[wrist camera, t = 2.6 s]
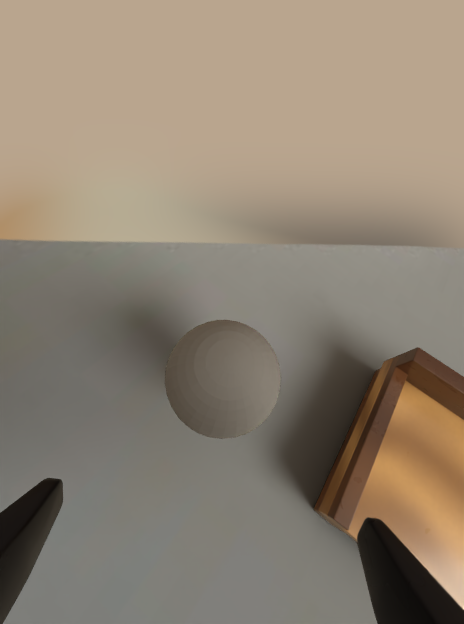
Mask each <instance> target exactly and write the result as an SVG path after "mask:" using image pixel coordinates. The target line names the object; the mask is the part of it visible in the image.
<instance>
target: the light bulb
mask: <svg viewBox="0 0 464 624" xmlns="http://www.w3.org/2000/svg"><path fill="white" fill-rule="evenodd" d="M280 384H281V374H280V368H279V363H278V360H277V357H276V354H275V352H274V351H273V349H272V347H271V345H270V344H269V343H268V341H267V340H266V339H265V338H264V337H263V336H262V335H261V334H260V333H258V332H257V331H256V330H255V329H253V328H251V327H249V326H247V325H245V324H242V323H240V322H236V321H230V320H216V321H211V322H207V323H204V324H202V325H199V326H197V327H195V328H194V329H192V330H191V331H189V332H188V333H186V334H185V335H184V336H183V337H182V338H181V339H180V340H179V342H178V343H177V345H176V346H175V347H174V349H173V350H172V353H171V355H170V357H169V359H168V362H167V367H166V371H165V386H166V392H167V396H168V399H169V401H170V404H171V407H172V408H173V410H174V411H175V413H176V414H177V416H178V417H179V419H180V420H181V421H183V422H184V423H185V424H186V425H187V426H188V427H189V428H191V429H192V430H194V431H196V432H197V433H199V434H202V435H205V436H208V437H212V438H220V439H223V438H235V437H238V436H241V435H244V434H247V433H249V432H250V431H252V430H254V429H255V428H257V427H258V426H259V425H260V424H261V423H263V422H264V421H265V420H266V419H267V417H268V416H269V414H270V413H271V412H272V410H273V408H274V406H275V404H276V401H277V399H278V395H279V391H280Z"/></svg>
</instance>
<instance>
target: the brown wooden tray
mask: <svg viewBox="0 0 464 624" xmlns="http://www.w3.org/2000/svg"><path fill="white" fill-rule="evenodd" d="M314 511H316V512H317V513H318V514H319V515H320V516H322V517H323V518H324V519H325V520H327V521H328V522H329V523H330V524H331V525H333V526H334V527H336V528H338V529H339V530H341V531H343V532H344V533H346V534H347V535H349V536H350V537H351V538H352V539H354V540H355V541H356V542H357V535H358V532H359V530H360V528H361V526H362V524H363V522H364V520H365V519H366V518H367V517H370V518H378V519H380V520H382V521H383V522H384V523H385V524H386V525H387V526H388V527H389V529H390V530H391V531H392V532H393V533H394V534H395V535H396V536H397V537H398V538H399V539H400V541H401V542H402V543H403V544H404V545H405V546H406V547H407V548H408V549H409V550H410V552H411V553H412V554H413V555H414V556H415V557H416V558H417V559H418V560H419V561H420V562H421V564H422V565H423V566H424V567H425V568H426V569H427V570H428V571H429V572H430V573H431V574H432V576H433V577H434V578H435V579H436V580H437V581H438V582H439V583H440V584H441V585H442V587H443V588H444V589H445V590H446V591H447V592H448V593H449V594H450V595H451V596H452V597H453V599H454V600H455V601H456V602H457V603H458V604H459V605H460V606H461V607H462V608H463V610H464V377H463V376H461V375H460V374H458V373H457V372H455V371H454V370H452V369H451V368H449V367H448V366H446V365H445V364H443V363H442V362H440V361H439V360H437V359H435V358H434V357H432V356H431V355H429V354H428V353H426V352H425V351H423V350H422V349H420V348H415V349H413V350H410V351H408V352H406V353H403V354H401V355H398V356H396V357H394V358H391V359H389V360H386V361H384V363H383V365H382V367H381V369H379V370H376V371H375V374H374V376H373V378H372V380H371V382H370V385H369V387H368V389H367V391H366V394H365V396H364V398H363V400H362V403H361V405H360V407H359V409H358V411H357V414H356V416H355V418H354V420H353V423H352V425H351V427H350V429H349V431H348V434H347V436H346V438H345V440H344V443H343V445H342V447H341V449H340V451H339V454H338V456H337V458H336V460H335V463H334V465H333V467H332V469H331V471H330V474H329V476H328V478H327V480H326V483H325V485H324V487H323V489H322V491H321V494H320V496H319V498H318V500H317V503H316V505H315V507H314Z"/></svg>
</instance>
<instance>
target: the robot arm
mask: <svg viewBox="0 0 464 624" xmlns="http://www.w3.org/2000/svg"><path fill="white" fill-rule="evenodd" d="M62 503H63V483H62V480H61V479H55V478H46V479H44V480H43V481H41V482H40V483H39V484H37V485H36V486H35V487H34V488H32V489H31V490H30V491H28V492H27V493H26V494H24V495H23V496H22V497H21V498H19V499H18V500H17V501H15V502H14V503H13V504H11V505H10V506H9V507H7V508H6V509H5V510H4V511H2V512H1V513H0V624H3V622H4V620H5V619H6V617H7V615H8V613H9V612H10V610H11V608H12V606H13V604H14V603H15V601H16V599H17V597H18V596H19V594H20V592H21V590H22V588H23V587H24V585H25V583H26V581H27V579H28V577H29V575H30V573H31V571H32V569H33V567H34V565H35V563H36V560H37V558H38V556H39V554H40V552H41V550H42V548H43V545H44V543H45V541H46V539H47V537H48V535H49V532H50V530H51V528H52V526H53V524H54V522H55V520H56V517H57V515H58V513H59V511H60V509H61V506H62ZM357 544H358V548H359V552H360V556H361V561H362V565H363V569H364V573H365V577H366V581H367V585H368V590H369V594H370V598H371V602H372V606H373V609H374V613H375V616H376V620H377V623H378V624H464V610H463V608H462V607H461V606H460V605H459V604H458V603H457V602H456V601H455V600H454V599H453V597H452V596H451V595H450V594H449V593H448V592H447V591H446V590H445V589H444V588H443V587H442V585H441V584H440V583H439V582H438V581H437V580H436V579H435V578H434V577H433V576H432V574H431V573H430V572H429V571H428V570H427V569H426V568H425V567H424V566H423V565H422V564H421V562H420V561H419V560H418V559H417V558H416V557H415V556H414V555H413V554H412V553H411V552H410V550H409V549H408V548H407V547H406V546H405V545H404V544H403V543H402V542H401V541H400V539H399V538H398V537H397V536H396V535H395V534H394V533H393V532H392V531H391V530H390V529H389V527H388V526H387V525H386V524H385V523H384V522H383V521H382V520H380V519H378V518H370V517H367V518H366V519H365V520H364V522H363V524H362V526H361V528H360V530H359V532H358V535H357Z"/></svg>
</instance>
